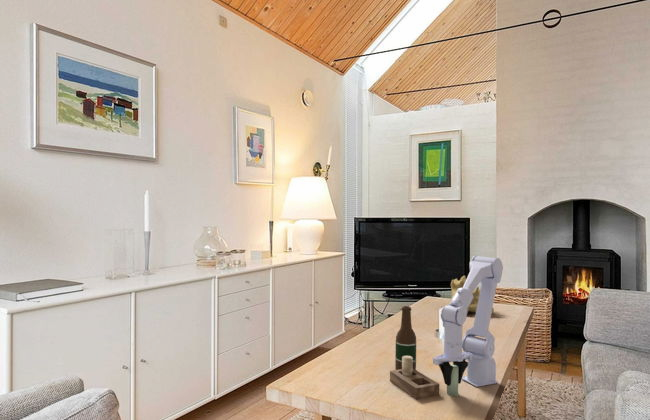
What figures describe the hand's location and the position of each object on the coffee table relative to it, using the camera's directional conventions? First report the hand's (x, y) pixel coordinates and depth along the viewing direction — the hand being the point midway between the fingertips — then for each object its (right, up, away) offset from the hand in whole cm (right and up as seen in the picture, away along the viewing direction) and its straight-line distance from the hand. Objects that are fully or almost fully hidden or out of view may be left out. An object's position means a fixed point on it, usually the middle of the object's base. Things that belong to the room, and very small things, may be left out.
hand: (452, 383), depth 147 cm
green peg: (0, -3, 0) cm, 3 cm away
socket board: (-12, -3, +5) cm, 13 cm away
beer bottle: (-12, -3, +20) cm, 23 cm away
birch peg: (-13, -3, +8) cm, 16 cm away
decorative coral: (+42, -3, +113) cm, 120 cm away
